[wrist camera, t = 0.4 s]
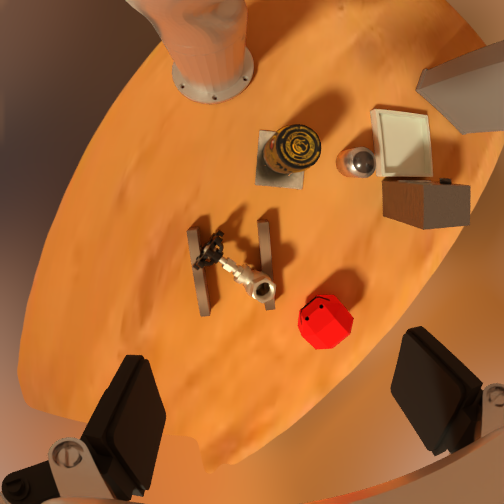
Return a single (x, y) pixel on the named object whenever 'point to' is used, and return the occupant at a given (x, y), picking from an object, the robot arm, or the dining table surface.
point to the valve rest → (200, 274)
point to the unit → (427, 203)
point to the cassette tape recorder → (469, 89)
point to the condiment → (286, 156)
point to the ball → (324, 322)
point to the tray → (401, 143)
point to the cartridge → (356, 162)
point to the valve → (236, 270)
